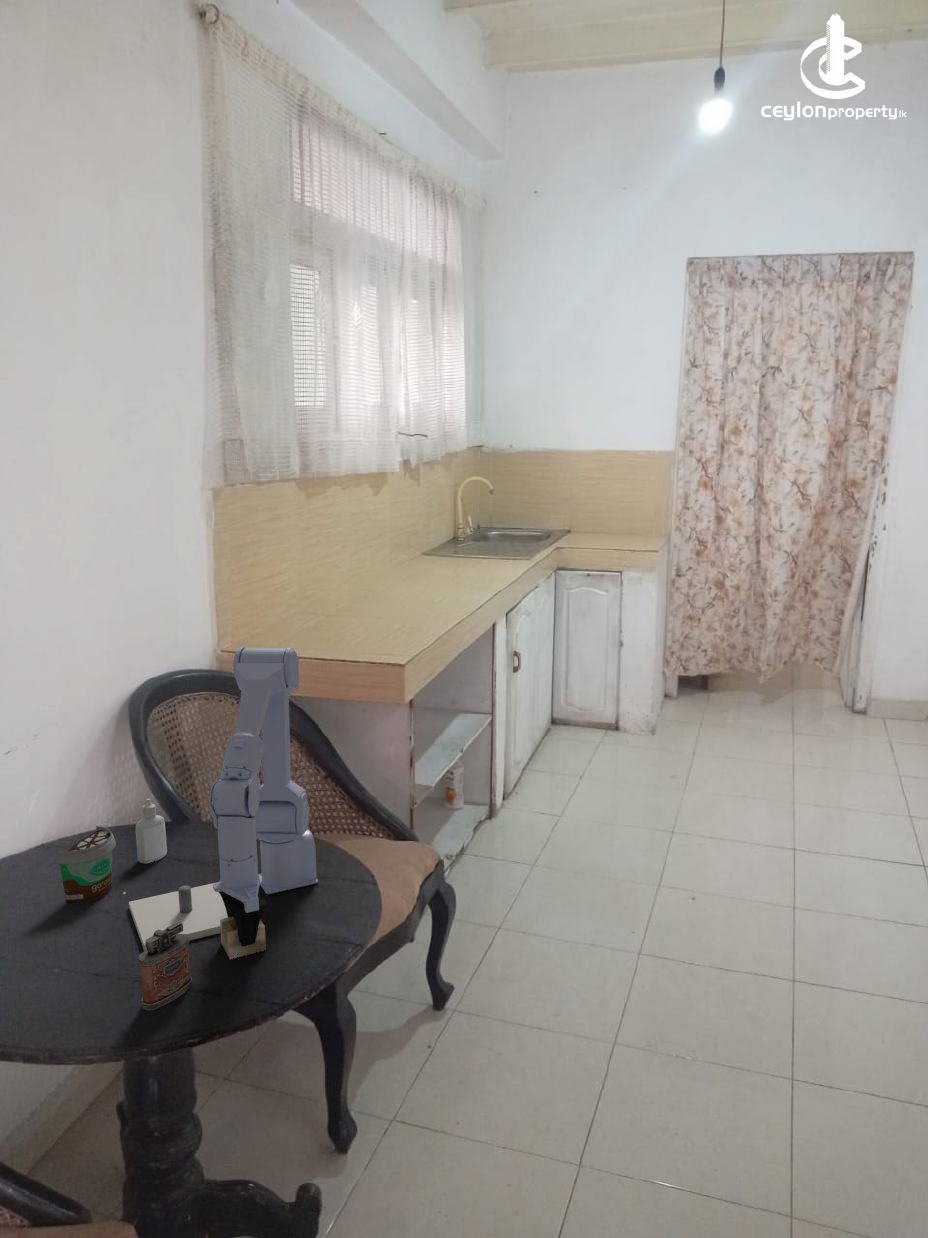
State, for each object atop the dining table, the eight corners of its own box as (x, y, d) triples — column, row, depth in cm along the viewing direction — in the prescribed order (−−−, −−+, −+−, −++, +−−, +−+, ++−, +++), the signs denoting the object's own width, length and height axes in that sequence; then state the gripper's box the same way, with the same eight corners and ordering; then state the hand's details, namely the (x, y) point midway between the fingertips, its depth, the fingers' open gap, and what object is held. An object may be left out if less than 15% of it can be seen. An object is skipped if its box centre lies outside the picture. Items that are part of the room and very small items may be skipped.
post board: (223, 887, 165) (221, 860, 165) (246, 926, 152) (244, 897, 151) (129, 908, 158) (126, 880, 157) (144, 951, 144) (142, 920, 143)
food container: (93, 910, 158) (88, 855, 156) (61, 907, 159) (55, 852, 157) (132, 878, 170) (128, 827, 168) (102, 876, 171) (98, 824, 169)
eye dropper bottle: (170, 859, 177) (165, 800, 175) (139, 866, 175) (134, 805, 173) (165, 851, 181) (161, 793, 179) (135, 857, 179) (130, 798, 176)
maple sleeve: (256, 934, 149) (255, 911, 148) (265, 950, 144) (264, 926, 143) (221, 943, 147) (219, 919, 146) (230, 959, 142) (228, 935, 141)
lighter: (152, 1013, 128) (147, 946, 126) (136, 1005, 130) (131, 940, 128) (197, 985, 135) (193, 921, 133) (181, 978, 137) (177, 915, 135)
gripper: (201, 842, 147) (206, 921, 150) (223, 877, 135) (228, 963, 137) (245, 833, 150) (250, 911, 153) (270, 867, 138) (275, 951, 140)
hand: (242, 935), depth 145 cm, fingers closed on maple sleeve, 6 cm apart
